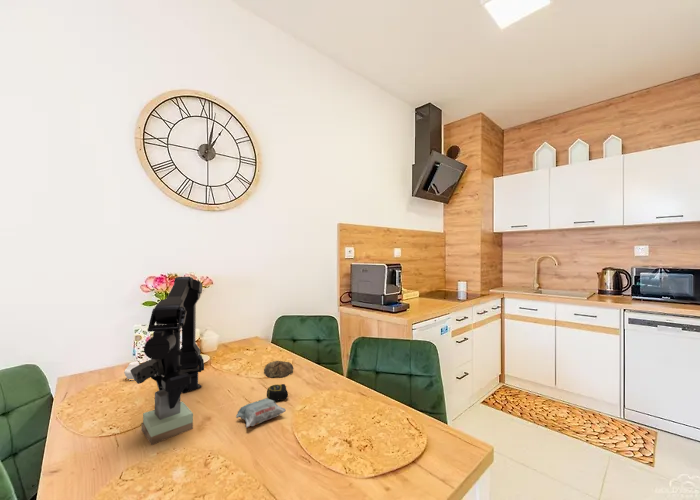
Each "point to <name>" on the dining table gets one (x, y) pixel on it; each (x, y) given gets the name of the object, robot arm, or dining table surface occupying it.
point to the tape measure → (277, 392)
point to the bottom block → (165, 433)
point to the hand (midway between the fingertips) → (167, 403)
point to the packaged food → (259, 412)
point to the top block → (167, 421)
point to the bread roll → (278, 369)
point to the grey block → (165, 405)
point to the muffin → (130, 366)
